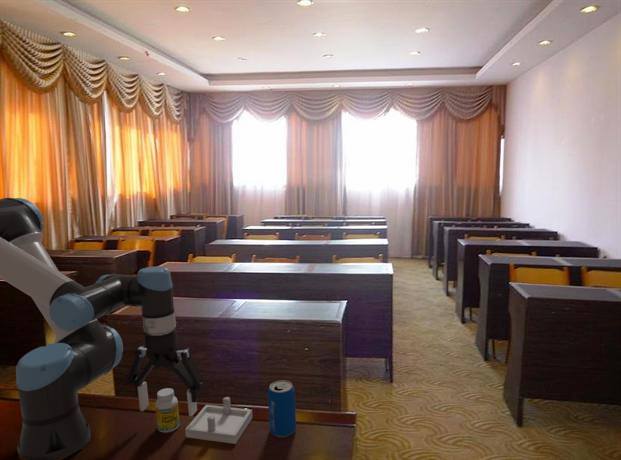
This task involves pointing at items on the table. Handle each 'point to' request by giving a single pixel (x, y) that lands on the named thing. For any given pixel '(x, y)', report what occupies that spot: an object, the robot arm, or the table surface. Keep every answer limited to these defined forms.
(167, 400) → the supplement bottle
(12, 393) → the table surface
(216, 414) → the tray
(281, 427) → the beverage can
